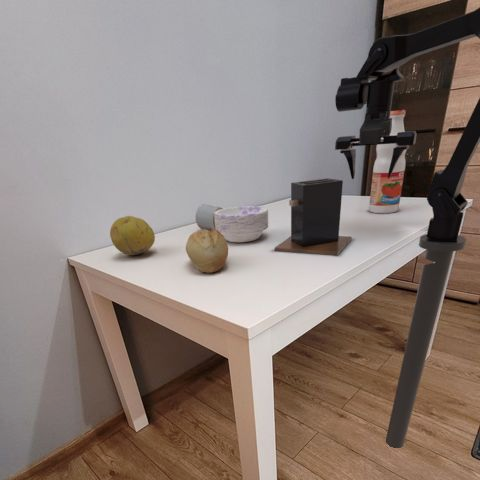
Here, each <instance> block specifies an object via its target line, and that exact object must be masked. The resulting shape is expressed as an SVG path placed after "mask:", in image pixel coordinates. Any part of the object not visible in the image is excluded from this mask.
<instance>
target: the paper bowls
mask: <svg viewBox="0 0 480 480" xmlns="http://www.w3.org/2000/svg"><path fill="white" fill-rule="evenodd" d="M214 216H215V227H216V230H218V231H219V232H220V233H221V234H222V235H223V236H224V238H225V240H226V242H231V243H249V242H253V241H256V240H257V239H260V238H261V236H262V233H263V232H264V231H265V230H267V229H268V228H269V209H268V208H267V207H265V206H256V205H255V206H254V205H245V206H243V205H242V206H241V205H240V206H232V207H231V206H230V207H226V208H225V207H224V208H223V209H221V210H218V211H216V212H215V213H214Z"/></svg>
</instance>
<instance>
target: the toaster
mask: <svg viewBox="0 0 480 480" xmlns="http://www.w3.org/2000/svg"><path fill="white" fill-rule="evenodd" d="M343 182H344V181H343V180H342V179H335V178H329V177H327V178H318V179H309V180H303V181H294V182H291V183H290V199H289V200H288V205H289V206H290V237H291V241H292V242H294V243H296V244H297V245H299V246H301V247H307V246H313V245H319V244H325V243H331V242H337V241H338V239H339V236H340V225H341V210H342V198H343V197H342V196H343Z"/></svg>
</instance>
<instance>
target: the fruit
mask: <svg viewBox="0 0 480 480" xmlns="http://www.w3.org/2000/svg"><path fill="white" fill-rule="evenodd" d="M109 237H110V240H111V243H112V244H113V246H114V247H115V249H116V250H118V251H119V252H121V253H122V254H124V255H127V256H139V255H141V254H143V253H145V252H147V251H148V250H150V249H151V248H152V246H153V245H154V244H155V240H156V235H155V232H154V230H153V228H152V227H151V226H150V225H149V224H148V222H147V221H146V220H144V219H142V218H140V217H136V216H132V215H125V216H122V217H119V218H117V219H116V220H115V221H113V223H112V225H111V226H110V230H109Z"/></svg>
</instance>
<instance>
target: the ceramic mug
mask: <svg viewBox="0 0 480 480" xmlns="http://www.w3.org/2000/svg"><path fill="white" fill-rule="evenodd" d="M221 209H224V207H221V206H217V205H211V204H206V203H205V204H201V205H199V206H198V207H197V209H196V211H195V222H196V225H197V227H198V228H199V229H200V230H203V229H206V230H209V231H210V229H211V228H212V229H216V227H215V216H214V213H215V212H216V211H218V210H221Z"/></svg>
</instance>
